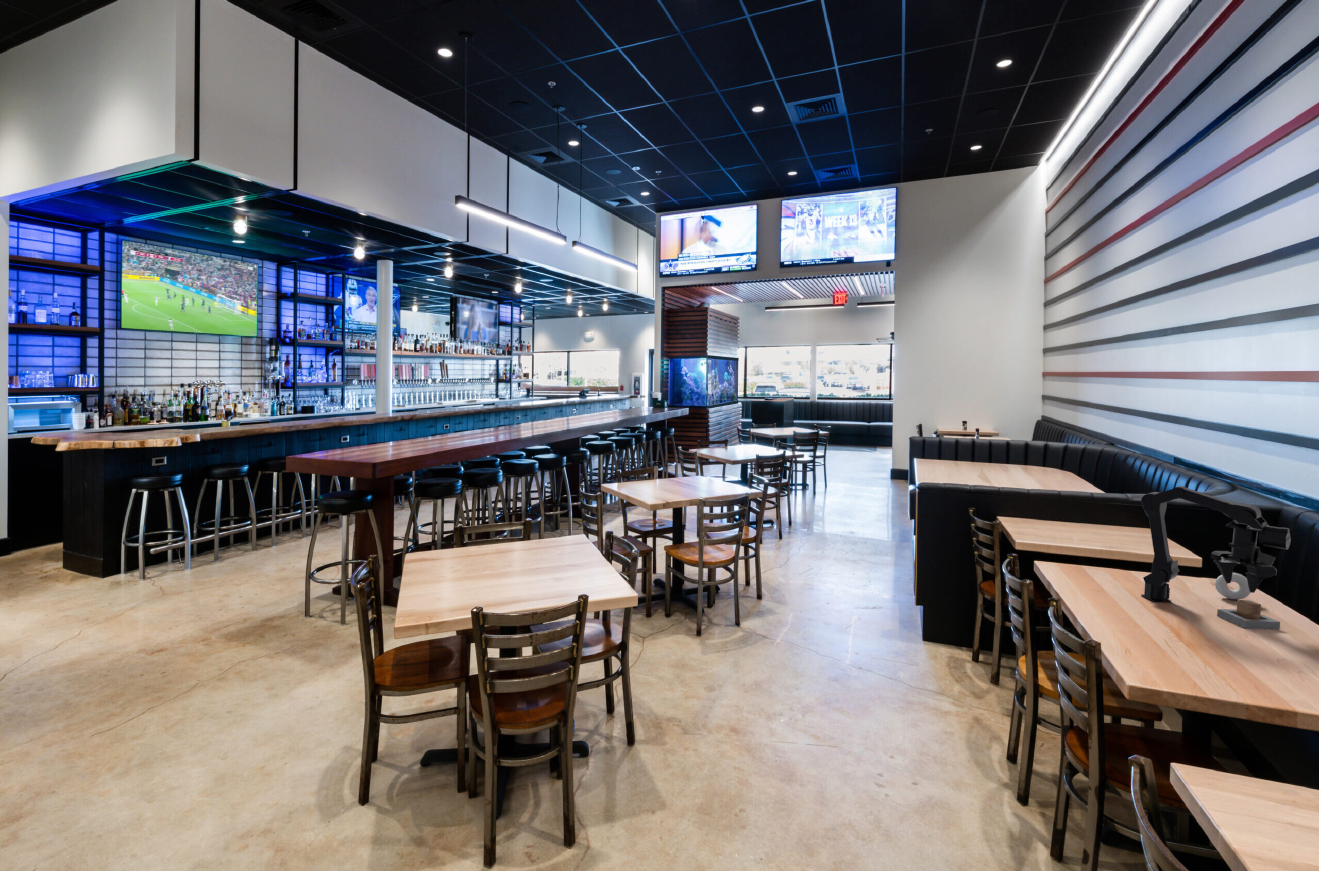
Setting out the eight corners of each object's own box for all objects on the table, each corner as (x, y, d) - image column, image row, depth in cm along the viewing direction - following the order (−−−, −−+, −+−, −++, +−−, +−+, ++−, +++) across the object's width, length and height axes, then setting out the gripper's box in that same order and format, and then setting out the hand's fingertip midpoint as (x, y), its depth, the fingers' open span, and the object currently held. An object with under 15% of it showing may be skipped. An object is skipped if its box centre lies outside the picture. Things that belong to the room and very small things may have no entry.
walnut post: (1246, 624, 198) (1248, 604, 197) (1235, 620, 202) (1237, 600, 201) (1259, 625, 198) (1261, 604, 197) (1248, 620, 202) (1250, 600, 201)
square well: (1244, 628, 195) (1245, 621, 195) (1217, 616, 205) (1217, 609, 205) (1279, 629, 194) (1280, 622, 194) (1250, 616, 205) (1250, 609, 204)
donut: (1214, 598, 223) (1216, 571, 222) (1212, 595, 226) (1215, 569, 225) (1252, 603, 217) (1254, 576, 216) (1249, 600, 220) (1251, 574, 219)
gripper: (1297, 551, 191) (1292, 598, 192) (1245, 535, 209) (1241, 579, 211) (1259, 549, 192) (1254, 597, 193) (1211, 534, 210) (1207, 578, 212)
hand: (1239, 587), depth 202 cm, fingers open, 9 cm apart
